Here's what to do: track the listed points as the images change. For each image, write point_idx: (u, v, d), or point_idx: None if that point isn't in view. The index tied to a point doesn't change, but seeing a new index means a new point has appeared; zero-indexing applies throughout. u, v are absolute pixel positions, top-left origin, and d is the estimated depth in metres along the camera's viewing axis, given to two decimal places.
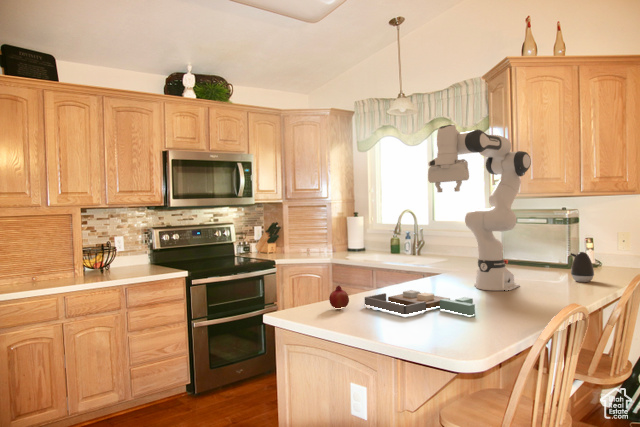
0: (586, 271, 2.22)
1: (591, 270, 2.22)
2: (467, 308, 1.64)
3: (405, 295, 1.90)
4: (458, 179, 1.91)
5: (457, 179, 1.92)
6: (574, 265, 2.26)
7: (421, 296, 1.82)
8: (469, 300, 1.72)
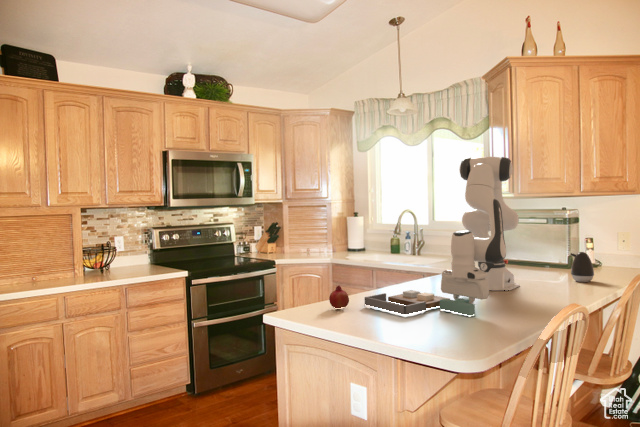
0: (586, 271, 2.22)
1: (591, 270, 2.22)
2: (467, 308, 1.64)
3: (405, 295, 1.90)
4: None
5: None
6: (574, 265, 2.26)
7: (421, 296, 1.82)
8: (469, 300, 1.72)
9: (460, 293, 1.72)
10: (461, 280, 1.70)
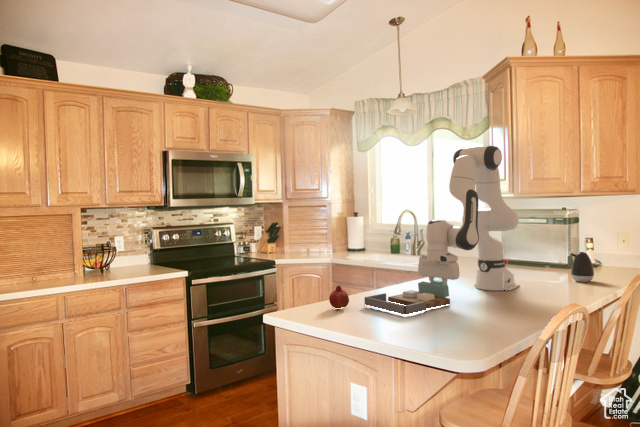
0: (586, 271, 2.22)
1: (591, 270, 2.22)
2: (442, 289, 1.86)
3: (405, 295, 1.90)
4: None
5: None
6: (574, 265, 2.26)
7: (421, 296, 1.82)
8: None
9: (434, 275, 1.93)
10: (435, 263, 1.91)
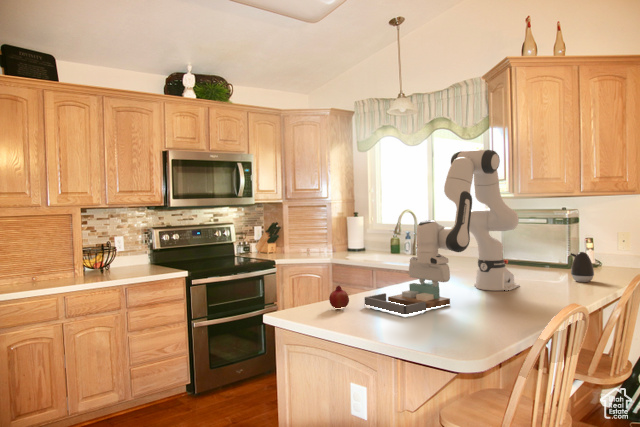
0: (586, 271, 2.22)
1: (591, 270, 2.22)
2: (432, 290, 1.83)
3: (404, 295, 1.89)
4: None
5: None
6: (574, 265, 2.26)
7: (420, 296, 1.82)
8: None
9: (425, 277, 1.89)
10: (425, 265, 1.88)
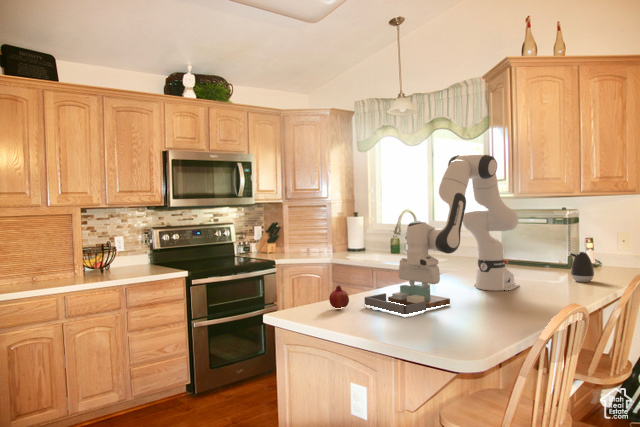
0: (586, 271, 2.22)
1: (591, 270, 2.22)
2: (423, 292, 1.79)
3: (394, 297, 1.86)
4: None
5: None
6: (574, 265, 2.26)
7: (411, 298, 1.78)
8: None
9: (414, 279, 1.86)
10: (415, 267, 1.84)
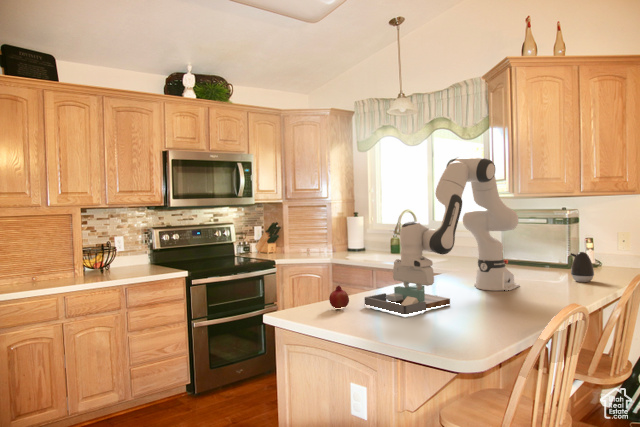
0: (586, 271, 2.22)
1: (591, 270, 2.22)
2: (417, 294, 1.78)
3: (388, 298, 1.84)
4: None
5: None
6: (574, 265, 2.26)
7: None
8: None
9: (409, 280, 1.84)
10: (409, 268, 1.82)
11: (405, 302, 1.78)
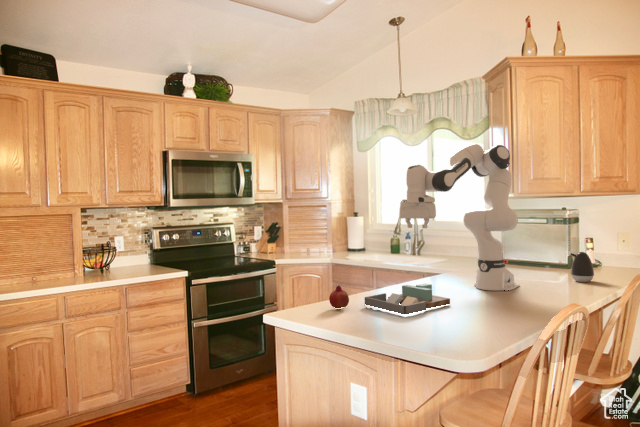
0: (586, 271, 2.22)
1: (591, 270, 2.22)
2: (425, 292, 1.80)
3: None
4: None
5: None
6: (574, 265, 2.26)
7: None
8: (428, 286, 1.88)
9: (413, 216, 2.09)
10: (414, 205, 2.07)
11: (405, 302, 1.78)
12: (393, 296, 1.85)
